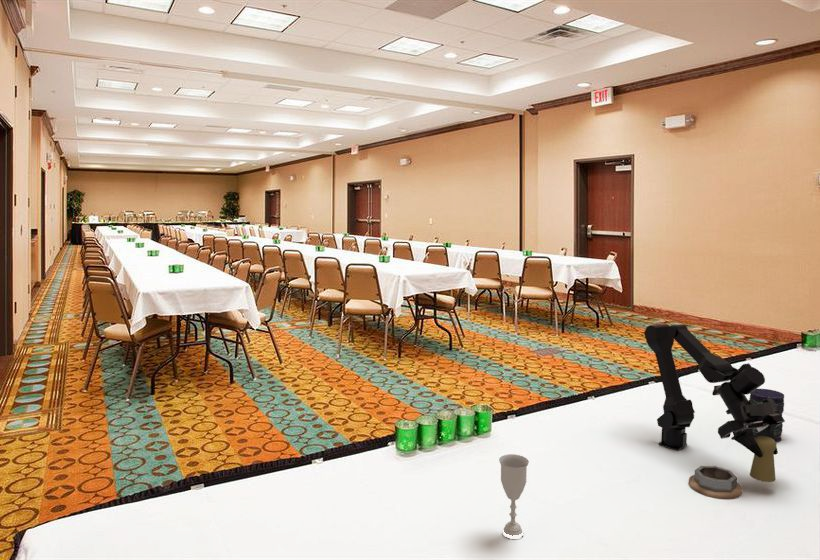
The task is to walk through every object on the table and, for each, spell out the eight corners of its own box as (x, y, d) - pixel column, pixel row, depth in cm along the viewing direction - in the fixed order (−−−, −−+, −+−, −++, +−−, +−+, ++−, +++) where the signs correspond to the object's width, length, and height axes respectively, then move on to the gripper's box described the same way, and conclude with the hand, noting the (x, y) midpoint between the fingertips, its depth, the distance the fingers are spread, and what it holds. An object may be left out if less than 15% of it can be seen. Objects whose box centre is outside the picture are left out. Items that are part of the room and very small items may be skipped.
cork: (779, 483, 158) (782, 443, 156) (754, 481, 159) (757, 441, 158) (770, 472, 164) (773, 434, 162) (746, 470, 165) (749, 432, 163)
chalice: (495, 526, 144) (495, 454, 142) (522, 524, 145) (523, 453, 143) (502, 543, 137) (503, 468, 135) (531, 541, 138) (532, 466, 135)
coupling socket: (680, 486, 164) (680, 472, 163) (700, 472, 172) (701, 459, 172) (730, 504, 154) (731, 489, 154) (749, 488, 163) (750, 474, 162)
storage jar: (782, 435, 200) (785, 391, 198) (781, 445, 191) (784, 399, 190) (747, 429, 205) (750, 386, 203) (745, 438, 197) (748, 394, 195)
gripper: (729, 392, 159) (763, 448, 150) (781, 385, 165) (816, 438, 156) (704, 411, 167) (734, 465, 158) (754, 403, 173) (786, 455, 165)
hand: (768, 455), depth 159 cm, fingers closed on cork, 5 cm apart
